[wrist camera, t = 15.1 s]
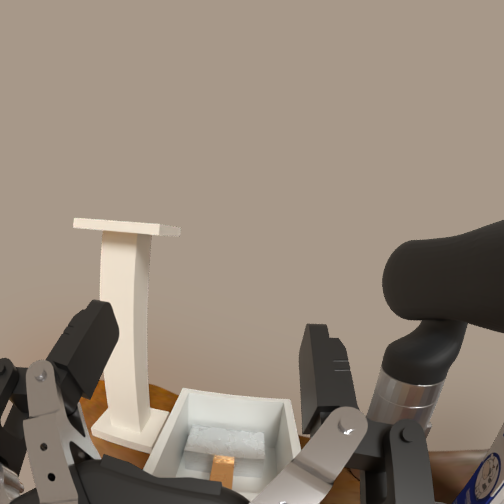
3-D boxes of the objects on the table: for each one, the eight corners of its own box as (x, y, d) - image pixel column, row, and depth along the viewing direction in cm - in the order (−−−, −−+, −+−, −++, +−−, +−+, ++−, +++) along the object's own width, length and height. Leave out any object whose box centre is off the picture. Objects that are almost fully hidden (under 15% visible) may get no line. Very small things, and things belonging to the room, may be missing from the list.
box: (280, 448, 36) (290, 399, 35) (290, 543, 17) (311, 500, 16) (183, 438, 36) (183, 387, 35) (151, 527, 17) (137, 481, 16)
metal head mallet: (260, 450, 34) (263, 432, 34) (262, 533, 18) (267, 518, 18) (192, 443, 34) (192, 424, 34) (168, 522, 18) (165, 505, 18)
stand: (175, 420, 40) (181, 227, 39) (158, 456, 30) (158, 223, 29) (112, 404, 40) (109, 221, 39) (87, 433, 30) (71, 217, 29)
